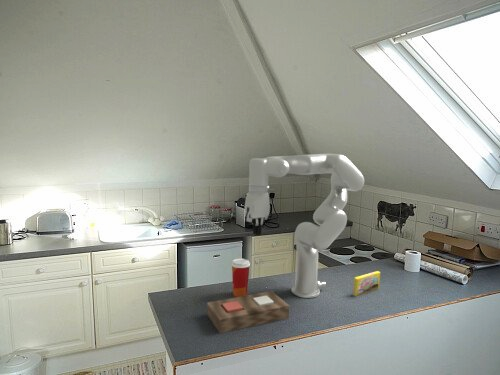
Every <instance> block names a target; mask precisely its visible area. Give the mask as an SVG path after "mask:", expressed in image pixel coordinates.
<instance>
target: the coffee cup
mask: <svg viewBox="0 0 500 375" xmlns="http://www.w3.org/2000/svg"><path fill="white" fill-rule="evenodd" d="M230 265H231V272H232V275H231V276H232V294H233V296H234V297H235V298H236V297H241V296H247V295H248V287H249V274H250V266H251V262H250V260H249V259H246V258H234V259H233V260H232V261H231V263H230Z"/></svg>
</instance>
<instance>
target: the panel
mask: <svg viewBox="0 0 500 375" xmlns="http://www.w3.org/2000/svg"><path fill="white" fill-rule="evenodd" d="M261 296H268V297H269V298H270V299H271V300H272V301H273V302H274V304H270V305H265V306H260V307H259V306H258V305H257V304H256V303H255V302H254V301H253V298H256V297H261ZM233 301H237V302H238V303H239V304H240V305H241V306H242V307H243V310H240V311H235V312H230V313H227V312H226V311H225V310H224V309H223V308H222V304H223V303H228V302H233ZM206 309H207V310H206V315H207V317H208V318H209V320H210V321H211V322H212V325H214V327H215V329H216V330H217V331H218V332H219V334H223V333H228V332H231V331H235V330H242V329H246V328H249V327H254V326H259V325H262V324H266V323H272V322H276V321H281V320H286V319H289V318H290V305H289V304H288V303H287V302H286V301H284V300H283V299H282V298H281V297H280V296H278V294H276V293H275V292H274V291H273V290H269V291H264V292H259V293H258V292H257V293H254V294H247V295H246V296H241V297H236V296H235V297H231V298H226V299H222V300H221V299H220V300H215V301H209V302H207V305H206Z"/></svg>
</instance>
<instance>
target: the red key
mask: <svg viewBox="0 0 500 375" xmlns="http://www.w3.org/2000/svg"><path fill="white" fill-rule="evenodd" d="M222 308H223V309H224V310H225V311H226V312H227V313H230V312H235V311H240V310H243V307H242V306H241V305H240V304H239V303H238V302H237V301H233V302H228V303H223V304H222Z"/></svg>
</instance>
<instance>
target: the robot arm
mask: <svg viewBox="0 0 500 375" xmlns="http://www.w3.org/2000/svg"><path fill="white" fill-rule="evenodd" d="M248 173H249V174H248V192H247V193H246V197H245V201H244V214H243V215H244V217H246V222H249V223H251V224H252V225H253V226H252V234H253V235H255V236H261V235H262V226H263V224H264V221H265V220H268V218H269V216H270V212H271V210H270V209H271V205H270V195H269V192H268V190H269V189H270V186H269V177H274V178H283V177H285V176H286V175H287V174H290V175H291V174H292V175H293V174H294V175H299V176H300V175H301V176H309V175H319V174H320V175H322V174H331V176H330V186H331V188H330V193H329V194H328V196H327V197H326V198H325V199H324V201H323V202H322V203H321V204H320V206H319V205H318V207H317V208H316V209H315V211H314V213H313V214H312V215H313V216H312V219H313V221H314V223H313V222H309V221H304V222H303V221H302V222H300V223H299V224H298V225H297V227H296V228H295V232H294V233H295V234H294V236H295V237H294V238H295V243H296V244H295V246H296V258H295V277H294V281H295V282H294V283H295V284H294V285H293V286H292V287H291V293H292V294H293V295H295V296H296V297H300V298H305V299H313V298H316V297H319V295H321V294H320V293H321V290H320V288H321V287H325V286H327V285H326V281H322V282H321V281H320V280H318V267H319V251H325V250H326V249H327V248H329V247H330V246H331V245H332V243H333V242H334V241H335V240H336V239H337V238H338V237H339V235H340V234H341V233H342V232H343V231H344V230H345V228H346V226H347V223H348V222H347V221H348V216H347V214H346V212H345V211H343V210H344V208H345V207H346V205H347V203H348V191H349V192H358V191H360V190H362V189H363V187H364V185H365V177H364V175H363V174H362V172H361V171H360V170H359V169H358V167H356V166H355V165H354V164H353V162H352V161H351V160H350V159H349V158H348V157H347V156H345V155H343V154H338V153H316V154H315V153H313V154H311V153H310V154H295V155H279V156H278V155H277V156H276V155H275V156H267V157H265V158H263V157H261V158H251V159H250V160H249V169H248ZM315 223H316V224H315Z"/></svg>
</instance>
